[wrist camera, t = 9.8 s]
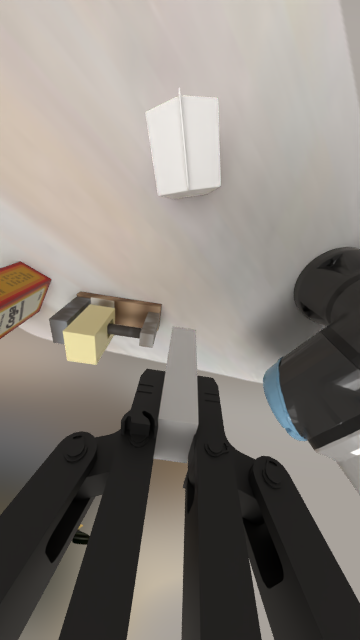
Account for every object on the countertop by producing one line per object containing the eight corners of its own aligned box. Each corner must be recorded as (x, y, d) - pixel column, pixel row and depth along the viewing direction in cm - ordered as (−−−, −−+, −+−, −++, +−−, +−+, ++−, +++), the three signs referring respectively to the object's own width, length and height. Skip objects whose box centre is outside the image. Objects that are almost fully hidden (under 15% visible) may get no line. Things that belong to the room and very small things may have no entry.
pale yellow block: (114, 308, 42) (94, 336, 33) (115, 333, 44) (96, 364, 36) (89, 304, 41) (62, 331, 33) (91, 329, 44) (67, 360, 36)
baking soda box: (39, 311, 49) (-22, 354, 35) (10, 296, 47) (-66, 335, 33) (51, 279, 45) (-13, 313, 31) (20, 261, 43) (-62, 289, 29)
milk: (173, 199, 36) (150, 196, 17) (167, 156, 33) (132, 94, 14) (208, 194, 36) (225, 185, 16) (206, 149, 33) (223, 74, 13)
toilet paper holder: (161, 304, 46) (152, 332, 36) (158, 327, 49) (150, 358, 39) (80, 291, 46) (48, 316, 36) (82, 315, 49) (53, 344, 39)
